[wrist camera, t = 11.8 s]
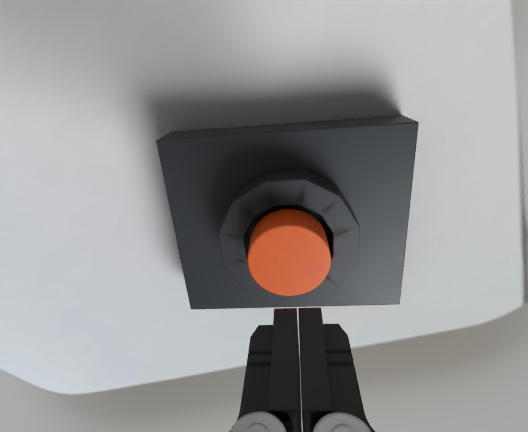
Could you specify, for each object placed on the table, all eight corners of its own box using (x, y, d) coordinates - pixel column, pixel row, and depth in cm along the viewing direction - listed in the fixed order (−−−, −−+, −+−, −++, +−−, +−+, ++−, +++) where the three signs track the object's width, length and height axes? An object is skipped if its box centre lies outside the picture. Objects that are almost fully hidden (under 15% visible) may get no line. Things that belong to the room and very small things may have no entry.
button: (326, 206, 15) (331, 222, 14) (326, 273, 17) (331, 295, 15) (247, 210, 15) (242, 226, 14) (254, 275, 17) (251, 297, 15)
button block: (403, 115, 17) (435, 128, 13) (388, 281, 21) (410, 327, 17) (170, 131, 18) (140, 148, 14) (199, 287, 22) (182, 331, 18)
